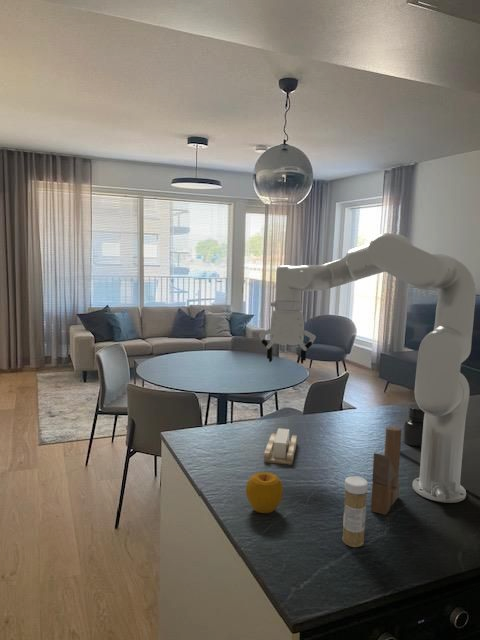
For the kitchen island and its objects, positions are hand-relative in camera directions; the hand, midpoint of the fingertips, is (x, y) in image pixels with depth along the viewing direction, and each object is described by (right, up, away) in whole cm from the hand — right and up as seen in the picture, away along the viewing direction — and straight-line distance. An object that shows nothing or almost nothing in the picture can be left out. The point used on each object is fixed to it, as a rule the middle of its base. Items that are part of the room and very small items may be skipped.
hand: (286, 361), depth 148 cm
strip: (-2, -26, -2) cm, 27 cm away
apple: (-9, -32, -36) cm, 49 cm away
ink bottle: (+43, -27, +8) cm, 52 cm away
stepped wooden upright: (+21, -32, -32) cm, 50 cm away
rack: (-2, -27, -2) cm, 27 cm away
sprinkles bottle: (+9, -33, -48) cm, 59 cm away
